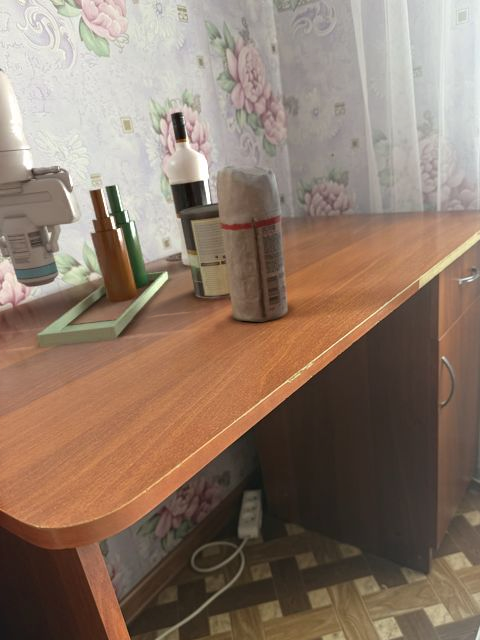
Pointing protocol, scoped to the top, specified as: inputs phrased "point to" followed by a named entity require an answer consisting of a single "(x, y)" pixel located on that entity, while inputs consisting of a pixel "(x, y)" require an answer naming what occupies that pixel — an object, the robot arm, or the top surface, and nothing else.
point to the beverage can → (29, 251)
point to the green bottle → (128, 236)
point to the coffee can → (205, 250)
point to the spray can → (252, 242)
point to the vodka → (186, 176)
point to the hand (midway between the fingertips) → (31, 254)
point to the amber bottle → (111, 252)
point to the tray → (100, 329)
